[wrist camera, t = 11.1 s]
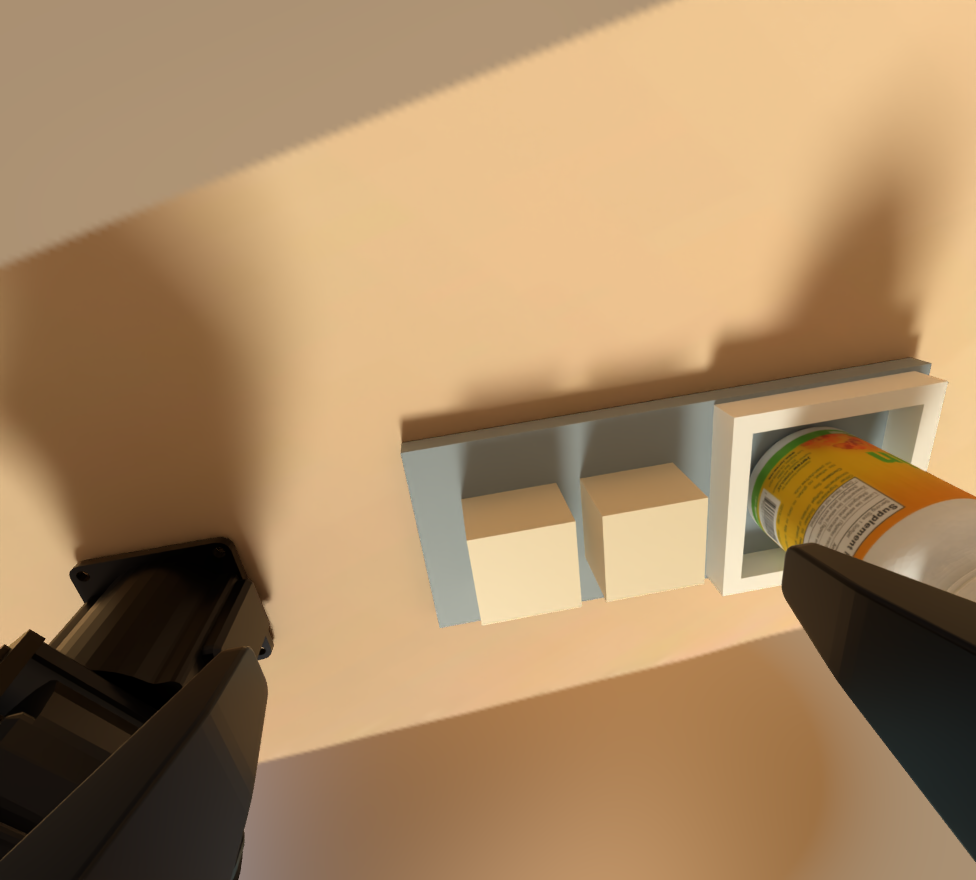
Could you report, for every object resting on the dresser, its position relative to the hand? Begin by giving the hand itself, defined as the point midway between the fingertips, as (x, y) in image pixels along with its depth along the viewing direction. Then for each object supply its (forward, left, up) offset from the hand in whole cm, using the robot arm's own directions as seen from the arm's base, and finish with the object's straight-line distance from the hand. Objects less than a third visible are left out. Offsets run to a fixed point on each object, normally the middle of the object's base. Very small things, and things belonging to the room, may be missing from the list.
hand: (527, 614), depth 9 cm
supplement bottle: (+14, -7, -12) cm, 20 cm away
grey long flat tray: (+8, -7, -13) cm, 17 cm away
